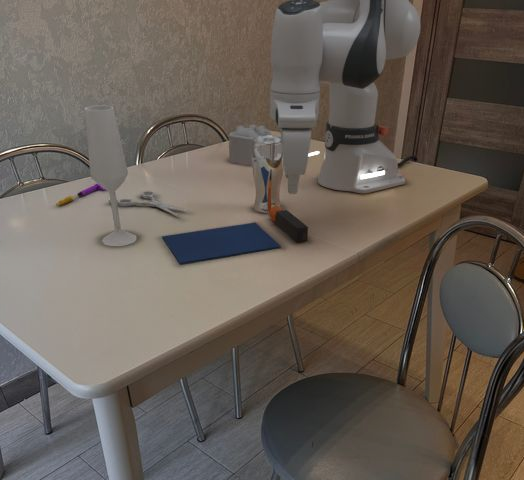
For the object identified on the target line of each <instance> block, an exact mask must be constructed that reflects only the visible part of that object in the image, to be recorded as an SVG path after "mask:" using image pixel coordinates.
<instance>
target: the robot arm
mask: <svg viewBox="0 0 524 480" xmlns="http://www.w3.org/2000/svg"><path fill="white" fill-rule="evenodd" d="M421 27H422V26H421V19H420V15H419V12H418V10H417V8H416V7H415V5H413V3H412V2H410V0H325V1H321V2H319V1H317V0H286V1H284V2H282V3H280V4H279V5H278V6H277V7H276V10H275V12H274V20H273V25H272V32H271V45H270V46H271V47H270V66H271V69H272V78H271V83H270V87H269V88H270V89H269V118H270V120H272V121H274V122H275V124H276V129H277V130H279V133H280V137H281V147H282V155H283V162H284V170H283V171H284V174H285V178H286V179H287V193H288V194H289V195H297V194H298V192H299V191H298V189H299V181H300V177H301V176H303V175H305V173H306V170H307V166H308V163H309V162H308V161H309V157H312V156H316V155H319V154H320V151H318V150H316V151H313V152H310V148H311V141H312V130H313V129H316V126H317V120H319V115H320V114H319V113H320V100H321V99H320V98H321V83H322V84H328V94H329V96H328V97H329V100H328V101H329V102H328V121H327V122H326V123H325V135H324V147H325V148H324V154H323V159H322V164H321V168H320V171H319V174H318V177H317V180H316V181H317V183H318V184H319V185H320V186H322V187H325V188H327V189H331V190H335V191H344V192H351V193H352V192H353V193H356V194H368V193H372V192H373V193H374V192H377V191H381V190H386V189H389V188H395V187H398V186H402V185H406V178H405V176H404V175H402V174H400V173H399V167H402V166H403V165H404V164H405V163H407V162H408V161H411V160H413V161H415V162H417V161H419V160H418V159H419V158H417V156H416V155H409V156H407V157H406V158H404V159H402V160H401V161H400V162H398V158H397V156H396V155H395V153H393V151H391V150H390V149H389V148H388V147H387V146H386V145H385V144H384V143H383V142H382V141H381V140H380V136H382V137H386V136H387V135H388V134H389V129H388V127H387V126H384V125H380V126H379V125H378V124H376V117H377V116H376V114H377V106H378V98H379V91H378V88H377V86H376V84H375V81H377V80H378V79H379V78H380V77H381V75H382V74H383V72H384V69H385V64H386V61H389V60H396V59H400V58H405V57H407V56H409V54H410V53H411V52H412V51H413V50H414V49H415V47H416V46H417V43H418V41H419V39H420V38H419V37H420V34H421ZM379 135H380V136H379Z"/></svg>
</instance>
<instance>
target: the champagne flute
mask: <svg viewBox="0 0 524 480" xmlns="http://www.w3.org/2000/svg"><path fill="white" fill-rule="evenodd" d="M84 114H85V115H84V116H85V127H86V139H87V151H88V152H87V153H88V163H89V175H90V177H91V179H92V180H93V182H95V184H98V185H100V186H101V187H102V188H104V189H105V190H104V191H108V195H109V200H110V202H111V204H110V208H111V215H112V221H113V226H114V230H113V231H112V232H110V233H108V234H107V235H105V236H104V237H103V238H102V239H101V242H102V244H104V245H105V246H109V247H123V246H127V245H131V244H134V243H135V242H136V241H137V236H136V235H135V234H133V233H131V232H128V231H125V230H124V229H122V226H121V221H120V220H121V219H120V213H119V207H118V206H119V205H118V204H117V200H118V199H117V193H116V191H117V190H118V189H119V188H120V187H121V186H122V185H123V184H124V183H125V181H126V179H127V177H128V174H129V170H128V166H127V161H126V158H125V157H126V156H125V154H124V153H125V152H124V149H123V144H122V139H121V136H120V132H119V127H118V121H117V118H116V113H115V109H114V107H113V106H112V105H101V104H99V105H91V106H87V107H85V108H84Z"/></svg>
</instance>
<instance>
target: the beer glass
mask: <svg viewBox="0 0 524 480" xmlns="http://www.w3.org/2000/svg"><path fill="white" fill-rule="evenodd" d="M251 168H252V175H253V180H254V181H253V182H254V187H255V199H254V203H253V209H254V211H255V212H257V213H260V214H269V211H270V209H271V208H272V207H274V206H279V207H280V208H282V204H281V198H280V197H281V196H280V193H281V186H282V181H283V176H284V171H285V170H284V162H283V155H282V147H281V136H278V135H271V136H270V135H265V136H257V137H254V138H253V147H252V166H251Z"/></svg>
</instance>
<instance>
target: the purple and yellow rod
mask: <svg viewBox="0 0 524 480" xmlns="http://www.w3.org/2000/svg"><path fill="white" fill-rule="evenodd" d="M96 190H98V191H100V190H101V191H103V192H104V191H106V190H105V189H104V188H102V187H101V186H100V185H98V184H97V183H95V184H93V185H92V186H90V187H88V188H85V189H83V190H81V191H78V193H77V194H76V195H74V196H71V195H69V196H67V197H65V198H63V199H61V200H59V201H58V202H57V203H56V205H57V206H63V205H65V204H67V203H70V202H71V203H72V201H74V198H76V197H83V196H85V195H88V194H89V193H92V192H93V191H96Z"/></svg>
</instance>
